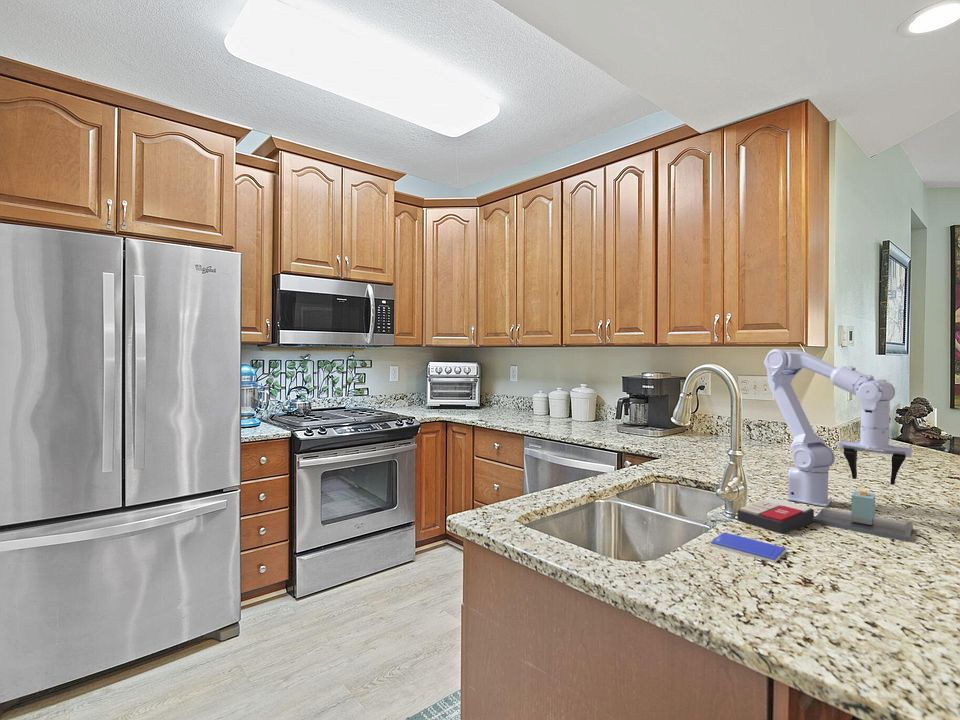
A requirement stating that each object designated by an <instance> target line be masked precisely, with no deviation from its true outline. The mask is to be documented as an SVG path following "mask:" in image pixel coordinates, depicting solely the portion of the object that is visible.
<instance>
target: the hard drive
mask: <svg viewBox="0 0 960 720" xmlns="http://www.w3.org/2000/svg"><path fill="white" fill-rule="evenodd" d="M710 546H711V547H714V548H717V549H722V550H726V551H730V552H732V553H733V552H734V553H737V554H739V555H744V556H748V557H751V558H756V559H759V560H763V561H766V562H770V563H774V564H775V563H776V562H778V561H779V559H780V558H781V557H783V556H784V555H785V554H786V553H787V547H785V546H780V545H776V544H772V543H768V542H763V541H760V540H756V539H752V538H749V537H744V536H742V535H741V536H740V535H736V534H733V533H729V532H725V531H724V532H722V533H720V534H719V535H718V536H716V537H715V538H713V539H712V540H711V541H710Z"/></svg>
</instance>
